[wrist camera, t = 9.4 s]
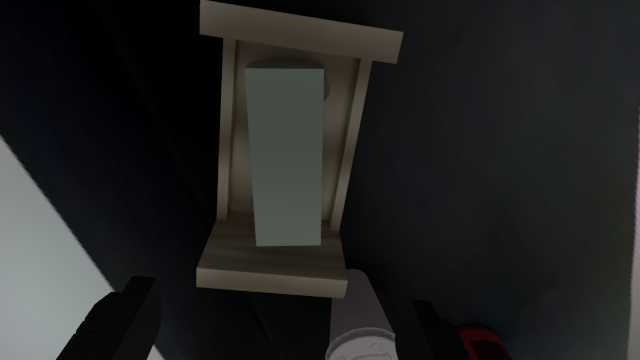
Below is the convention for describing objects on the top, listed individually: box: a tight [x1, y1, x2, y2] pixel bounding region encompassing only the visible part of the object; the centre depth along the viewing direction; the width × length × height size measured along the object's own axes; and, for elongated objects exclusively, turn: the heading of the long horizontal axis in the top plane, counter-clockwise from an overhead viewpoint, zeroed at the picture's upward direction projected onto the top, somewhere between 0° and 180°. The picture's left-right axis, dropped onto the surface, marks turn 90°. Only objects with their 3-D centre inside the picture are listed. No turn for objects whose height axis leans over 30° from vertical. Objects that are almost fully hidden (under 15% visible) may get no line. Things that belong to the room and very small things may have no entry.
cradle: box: [197, 0, 403, 298], centre depth 26 cm, size 18×10×9 cm, turn 172°
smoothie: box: [325, 269, 398, 360], centre depth 31 cm, size 6×6×14 cm
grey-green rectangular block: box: [244, 61, 324, 246], centre depth 25 cm, size 12×4×4 cm, turn 179°
